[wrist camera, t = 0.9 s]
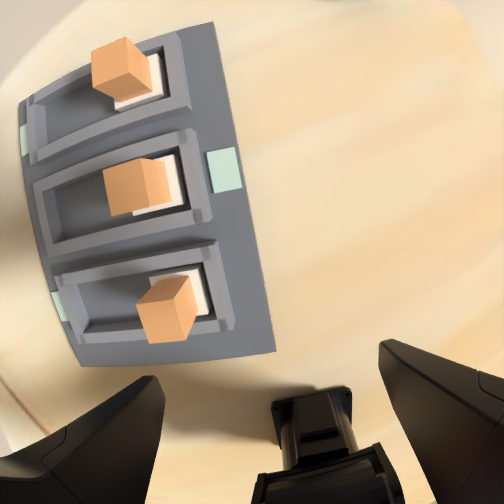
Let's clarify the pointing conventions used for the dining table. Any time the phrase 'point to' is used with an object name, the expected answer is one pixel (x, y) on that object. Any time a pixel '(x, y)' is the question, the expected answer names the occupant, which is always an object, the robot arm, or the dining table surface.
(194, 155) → the switch board
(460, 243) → the dining table surface
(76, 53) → the dining table surface
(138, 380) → the robot arm
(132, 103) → the tab
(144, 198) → the tab
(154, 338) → the orange and white block
